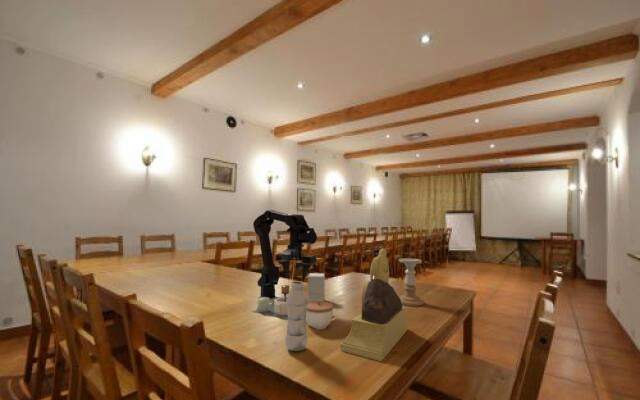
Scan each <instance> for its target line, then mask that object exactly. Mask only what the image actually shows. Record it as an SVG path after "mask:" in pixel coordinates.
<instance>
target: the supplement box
mask: <svg viewBox="0 0 640 400" xmlns="http://www.w3.org/2000/svg"><path fill="white" fill-rule="evenodd" d="M325 274H326V273H316V272H315V273H311V272H310V273H309V274H308V276H307V280H308V281H307V297H308V302H312V301H317V300H320V301H324V302H325V295H326V294H325V293H326V292H325V291H326V290H325V286H326V285H325V283H326V282H325V278H326V277H325Z"/></svg>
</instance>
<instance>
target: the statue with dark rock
mask: <svg viewBox="0 0 640 400" xmlns="http://www.w3.org/2000/svg"><path fill="white" fill-rule="evenodd" d="M387 253H388V252H387V249H386V248H381V249H380V250H379V252H378V254H377V256H375V257H374V258H373V259H372V262H371V265H370V268H369V269H370V270H369V276H370V277H369V278H370V280H369V281H366V282H365V283H364V286H363V289H362V293H361V313H360V314H358V315H357V316H355V317H353V318H352V319H351V327H350V331H349V333H348V335H347V337H346V338H345V339H344V340H343V341H342V342H341V343H340V347H339V350H340V352H345V353H349V354H353V355H355V356H360V357H364V358H368V359H372V360H375V361H379V362H382V361H383V360H384V359H385V358H386V356H388V354H389V353H390V352H391V350H392V349H393V348H394V347H395V345H396V344H397V343H398V342H399V340H400V339H401V338H402V337H403V335H404V334H405V333H406V332H407V331H408V322H407V319H406V307H405V306H404V307H403V305H402V303H401V300H400V298H399V297H400V296H398V295H399V294H397V292H396V290H395V288H394V287H393V286H392V285H390V284H389V282H390V281H389V280H390V271H389V270H390V266H389V261H388V258H387Z"/></svg>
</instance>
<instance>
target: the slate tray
mask: <svg viewBox="0 0 640 400" xmlns="http://www.w3.org/2000/svg"><path fill="white" fill-rule="evenodd" d="M251 313H256V314H259V315H264V316H268V317H273V318H277V319H281V320H285V321H288V315H285V316H283V315H277V314H275V312H274V302H273V303H271V304H270V311H269V312H266V313H259V312H257V309H254V310H252V311H251Z"/></svg>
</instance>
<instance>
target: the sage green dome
mask: <svg viewBox="0 0 640 400" xmlns="http://www.w3.org/2000/svg"><path fill="white" fill-rule="evenodd" d="M270 303H271V299H270V298H268V297H261V296H259V298H257V304H256V305H257V308H256V310H257V312H259V313H266V312H269V311H270ZM259 313H258V314H259Z"/></svg>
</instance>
